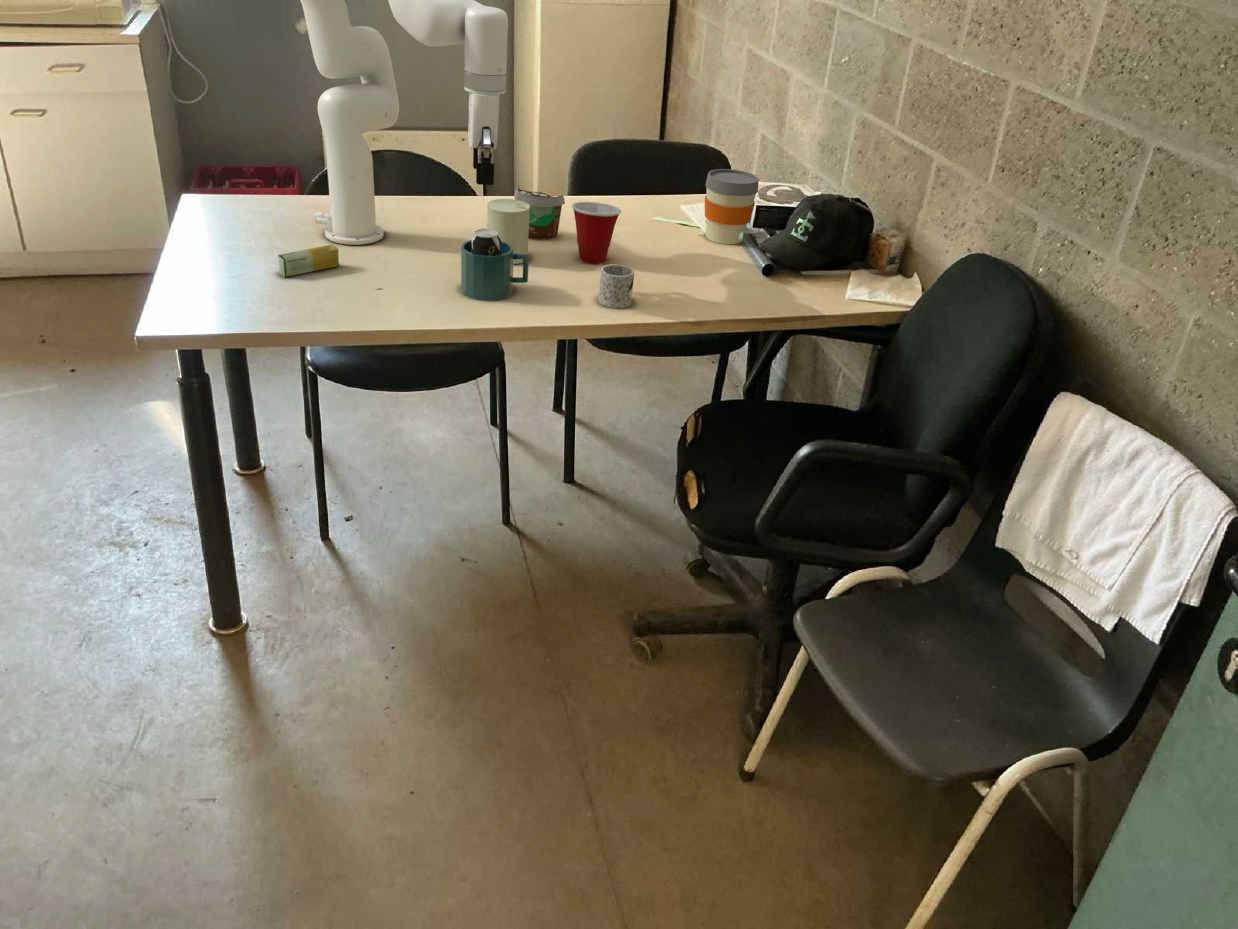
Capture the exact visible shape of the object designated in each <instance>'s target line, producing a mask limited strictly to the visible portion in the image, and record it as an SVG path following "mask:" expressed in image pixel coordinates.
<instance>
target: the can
mask: <svg viewBox="0 0 1238 929" xmlns="http://www.w3.org/2000/svg"><path fill="white" fill-rule="evenodd" d="M486 208H487V210H486V211H487V212H486V213H487V224H486V225H487V226H486V227H487V228H486V229H492V230H495V231H497V232H498V236H499V238H500V239H501V241H504V242H507V243H509V244H510V245H512V246H513V249H514V254H528V255H529V238H528V235H529V212H530V205H529V204H528V203H526V202H523V201H520V200H515V199H514V198H496V199H492V200H490V201H488V202H487V204H486ZM519 264H520V265H521V264H523V259H513V265H519Z"/></svg>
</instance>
